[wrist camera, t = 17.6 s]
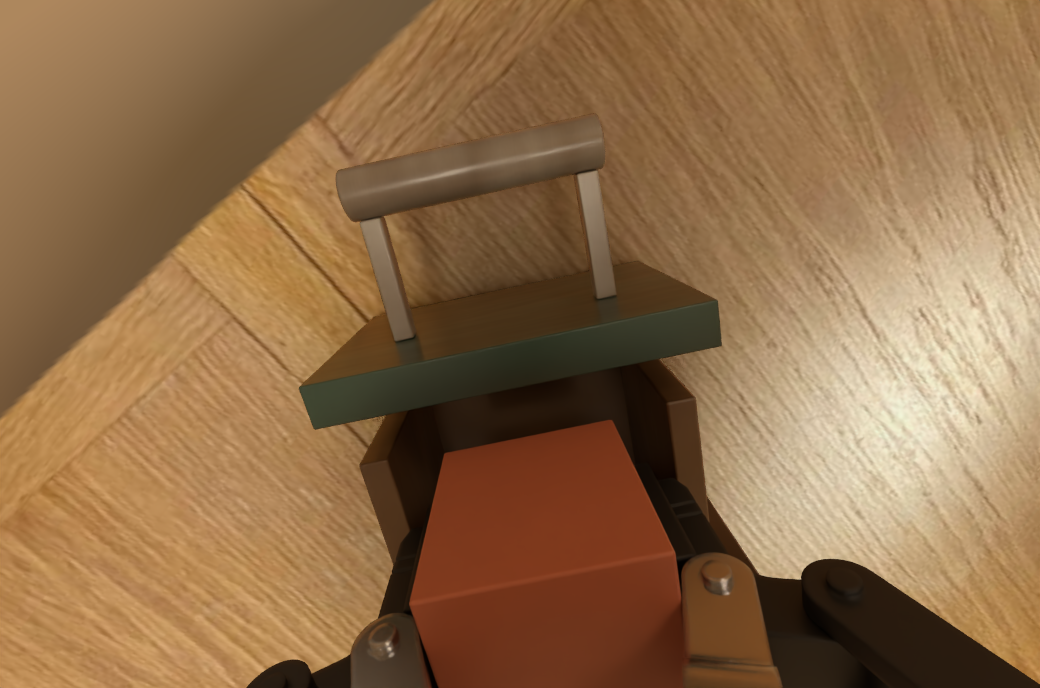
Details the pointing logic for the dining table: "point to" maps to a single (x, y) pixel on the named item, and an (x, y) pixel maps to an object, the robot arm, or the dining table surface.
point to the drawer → (509, 334)
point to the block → (548, 569)
